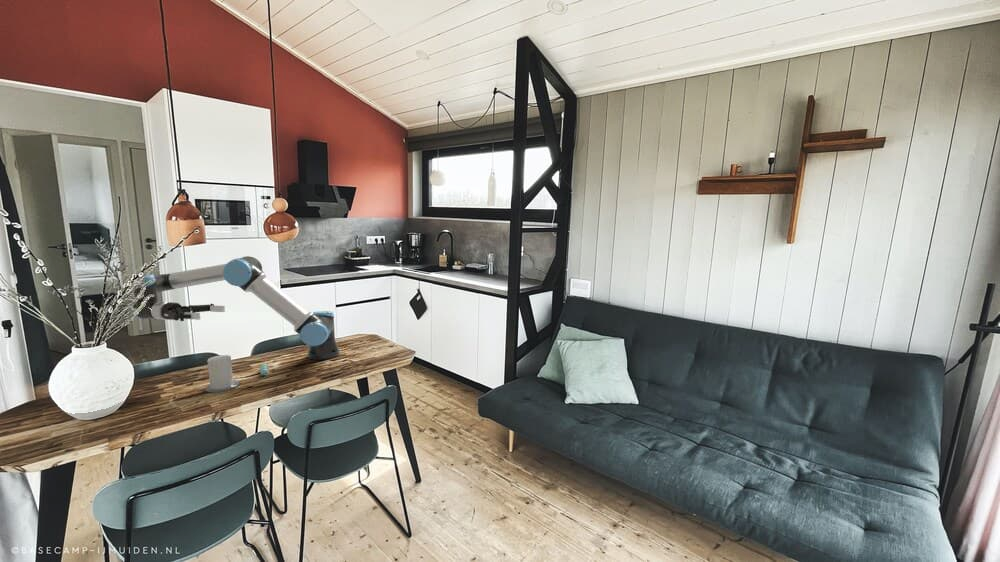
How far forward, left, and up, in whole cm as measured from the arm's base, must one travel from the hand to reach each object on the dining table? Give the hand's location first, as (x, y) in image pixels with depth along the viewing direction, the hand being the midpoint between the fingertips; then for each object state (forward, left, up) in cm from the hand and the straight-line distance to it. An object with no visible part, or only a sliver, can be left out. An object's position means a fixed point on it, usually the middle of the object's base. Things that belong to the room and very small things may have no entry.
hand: (212, 312), depth 181 cm
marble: (-18, +3, -30) cm, 35 cm away
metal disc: (-3, +11, -30) cm, 32 cm away
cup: (-3, +11, -30) cm, 32 cm away
